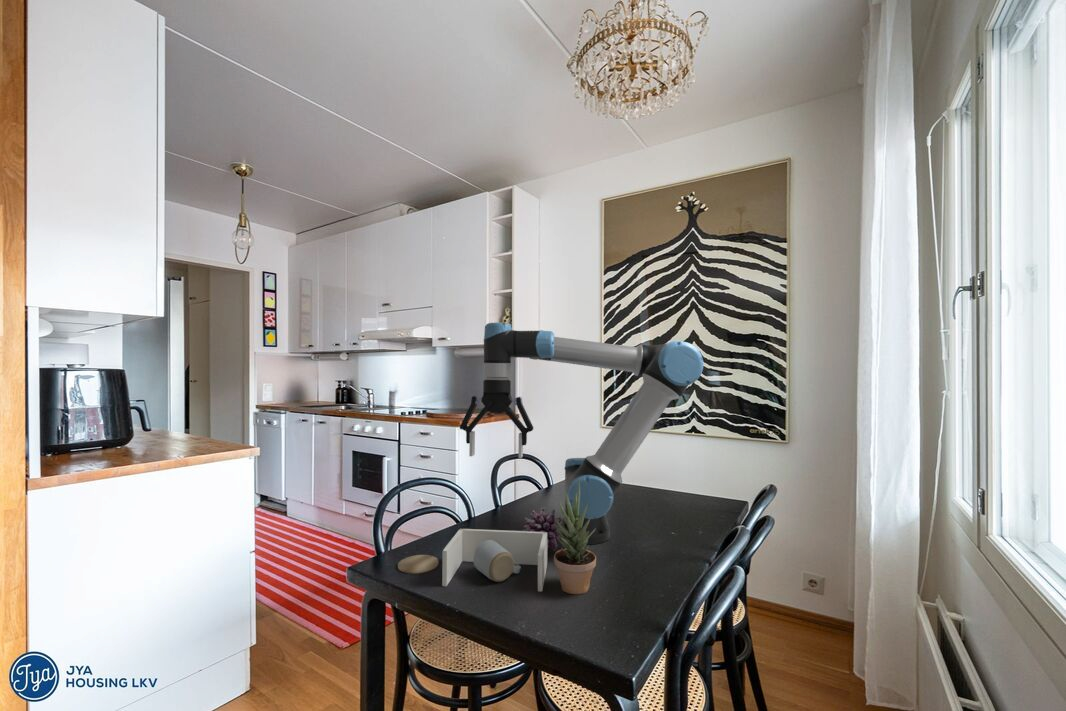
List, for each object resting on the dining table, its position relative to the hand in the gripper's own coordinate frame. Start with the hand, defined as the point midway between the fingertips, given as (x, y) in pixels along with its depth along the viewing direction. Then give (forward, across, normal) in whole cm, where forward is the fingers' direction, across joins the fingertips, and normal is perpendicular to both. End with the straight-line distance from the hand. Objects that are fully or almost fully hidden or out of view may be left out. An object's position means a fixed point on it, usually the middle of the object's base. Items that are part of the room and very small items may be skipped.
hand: (496, 456), depth 128 cm
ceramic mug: (+26, -4, +14) cm, 30 cm away
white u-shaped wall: (+26, -4, +14) cm, 29 cm away
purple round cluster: (+26, -13, -2) cm, 29 cm away
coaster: (+26, +17, +11) cm, 33 cm away
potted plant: (+26, -23, +18) cm, 39 cm away
